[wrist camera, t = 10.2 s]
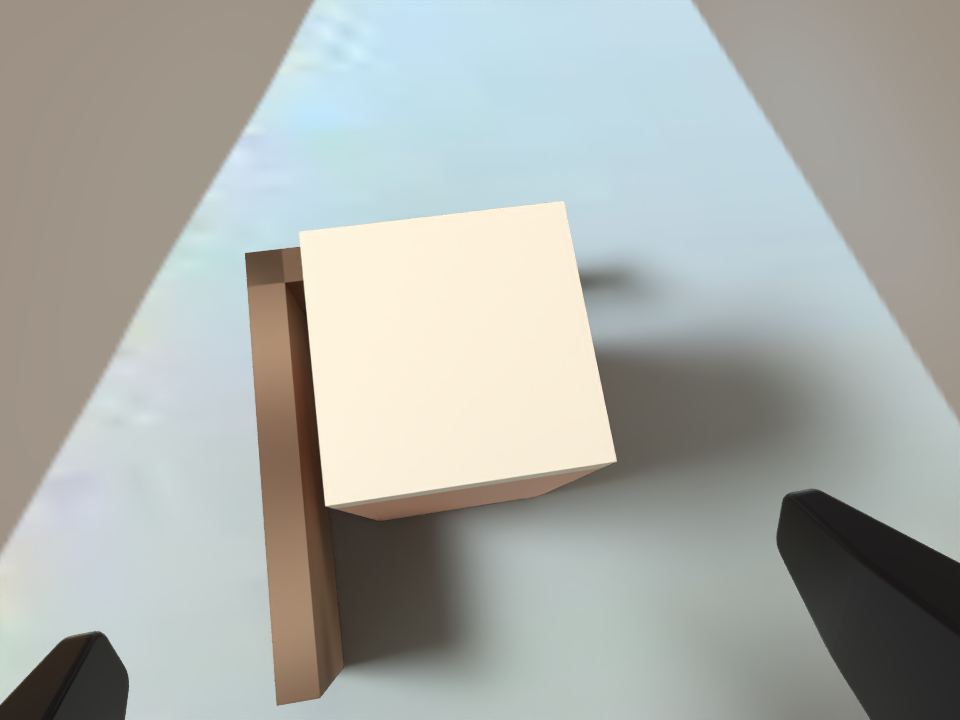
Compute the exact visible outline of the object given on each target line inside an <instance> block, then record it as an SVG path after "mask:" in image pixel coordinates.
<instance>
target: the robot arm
mask: <svg viewBox="0 0 960 720" xmlns="http://www.w3.org/2000/svg"><path fill="white" fill-rule="evenodd" d="M776 539H777V546H778V550H779V552H780V555H781V557H782V559H783V561H784V563H785V565H786V567H787V569H788V571H789V573H790V575H791V577H792V579H793V581H794V583H795V585H796V587H797V589H798V591H799V593H800V595H801V597H802V599H803V601H804V603H805V605H806V607H807V609H808V611H809V613H810V615H811V617H812V619H813V621H814V623H815V625H816V628H817V630H818V632H819V634H820V636H821V638H822V640H823V641H824V643H825V645H826V647H827V649H828V651H829V653H830V655H831V657H832V658H833V660H834V662H835V663H836V665H837V667H838V668H839V670H840V672H841V673H842V675H843V677H844V678H845V680H846V681H847V683H848V685H849V686H850V688H851V689H852V691H853V692H854V694H855V696H856V697H857V699H858V700H859V702H860V704H861V705H862V707H863V708H864V710H865V712H866V713H867V715H868V716H869V718H870V720H960V563H959V562H957V561H955V560H953V559H951V558H949V557H947V556H945V555H943V554H941V553H940V552H938V551H936V550H934V549H932V548H930V547H928V546H926V545H924V544H922V543H920V542H918V541H916V540H915V539H913V538H911V537H909V536H907V535H905V534H903V533H901V532H899V531H897V530H895V529H893V528H892V527H890V526H888V525H886V524H884V523H882V522H880V521H878V520H876V519H874V518H872V517H870V516H868V515H867V514H865V513H863V512H861V511H859V510H857V509H855V508H853V507H851V506H849V505H847V504H845V503H844V502H842V501H840V500H838V499H836V498H834V497H832V496H830V495H828V494H826V493H824V492H822V491H820V490H817V489H807V490H802V491H797V492H792V493H788V494H787V495H786V496H785V497H784V498H783V501H782V506H781V512H780V518H779V523H778V529H777V536H776ZM128 692H129V679H128V674H127V670H126V668H125V666H124V665H123V663H122V661H121V660H120V658H119V656H118V655H117V653H116V651H115V650H114V648H113V646H112V645H111V643H110V642H109V640H108V638H107V637H106V636H105V634H103V633H101V632H99V631H93V632H88V633H83V634H78V635H73V636H69V637H67V638H65V639H63V640H62V641H61V642H60V643H59V644H57V645H56V647H55V648H54V649H53V650H52V651H51V652H50V653H49V654H48V655H47V656H46V657H45V658H44V659H43V660H42V661H41V662H40V663H39V664H38V666H37V667H36V668H35V669H34V670H33V671H32V672H31V673H30V674H29V675H28V676H27V677H26V678H25V679H24V680H23V681H22V682H21V684H20V685H19V686H18V687H17V688H16V689H15V690H14V691H13V692H12V693H11V694H10V695H9V696H8V697H7V698H6V699H5V700H4V702H3V703H2V704H1V705H0V720H125V715H126V707H127V699H128Z"/></svg>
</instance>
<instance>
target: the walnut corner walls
mask: <svg viewBox="0 0 960 720" xmlns="http://www.w3.org/2000/svg"><path fill="white" fill-rule="evenodd" d="M245 260H246V274H247V289H248V303H249V317H250V331H251V346H252V360H253V374H254V388H255V402H256V417H257V431H258V445H259V459H260V474H261V488H262V502H263V516H264V530H265V545H266V559H267V573H268V587H269V602H270V616H271V630H272V644H273V658H274V673H275V687H276V701H277V706H278V705H284V704H289V703H295V702H301V701H307V700H312V699H318V698H320V697H321V696H322V695H323V694H324V692H325V691H326V690H327V688H328V687H329V686H330V684H331V683H332V682H333V681H334V679H335V678H336V677H337V675H338V674H339V673H340V671H341V670H342V669H343V668H344V661H343V650H342V640H341V629H340V618H339V608H338V597H337V586H336V576H335V565H334V554H333V544H332V533H331V523H330V512H329V507H326V506H325V498H324V488H323V477H322V467H321V456H320V446H319V436H318V425H317V415H316V405H315V394H314V384H313V373H312V363H311V353H310V342H309V332H308V322H307V311H306V301H305V290H304V280H303V270H302V259H301V249H300V247H294V248H286V249H277V250H268V251H260V252H251V253H245Z"/></svg>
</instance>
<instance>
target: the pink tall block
mask: <svg viewBox="0 0 960 720" xmlns="http://www.w3.org/2000/svg"><path fill="white" fill-rule="evenodd" d="M299 239H300V249H301V259H302V270H303V280H304V290H305V301H306V311H307V322H308V332H309V342H310V353H311V363H312V373H313V384H314V394H315V405H316V415H317V425H318V436H319V446H320V456H321V467H322V477H323V488H324V498H325V506H326V507H330V508H334V509H337V510H341V511H345V512H348V513H352V514H355V515H359V516H363V517H366V518H370V519H374V520H377V521H384V520H390V519H397V518H403V517H410V516H416V515H422V514H429V513H435V512H442V511H448V510H454V509H461V508H467V507H473V506H480V505H486V504H493V503H499V502H505V501H512V500H518V499H524V498H531V497H537V496H540V495H542V494H545V493H547V492H549V491H551V490H554V489H556V488H558V487H560V486H563V485H565V484H567V483H569V482H572V481H574V480H576V479H578V478H581V477H583V476H585V475H587V474H590V473H592V472H594V471H596V470H599V469H601V468H603V467H605V466H608V465H610V464H612V463H614V462H617V459H616V455H615V450H614V445H613V440H612V435H611V430H610V425H609V420H608V415H607V410H606V406H605V401H604V396H603V391H602V386H601V381H600V376H599V371H598V366H597V362H596V357H595V352H594V347H593V342H592V337H591V332H590V327H589V322H588V318H587V313H586V308H585V303H584V298H583V293H582V288H581V283H580V278H579V273H578V269H577V264H576V259H575V254H574V249H573V244H572V239H571V234H570V229H569V225H568V220H567V215H566V210H565V205H564V201H559V202H551V203H542V204H533V205H525V206H516V207H508V208H499V209H491V210H482V211H474V212H465V213H456V214H448V215H439V216H431V217H422V218H414V219H405V220H396V221H388V222H379V223H371V224H362V225H354V226H345V227H337V228H328V229H319V230H311V231H302V232H299Z"/></svg>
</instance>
